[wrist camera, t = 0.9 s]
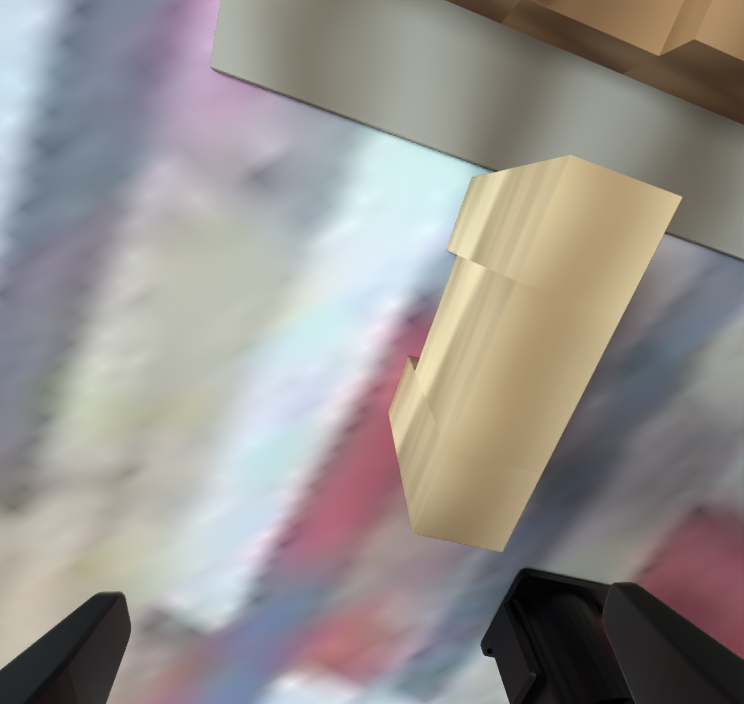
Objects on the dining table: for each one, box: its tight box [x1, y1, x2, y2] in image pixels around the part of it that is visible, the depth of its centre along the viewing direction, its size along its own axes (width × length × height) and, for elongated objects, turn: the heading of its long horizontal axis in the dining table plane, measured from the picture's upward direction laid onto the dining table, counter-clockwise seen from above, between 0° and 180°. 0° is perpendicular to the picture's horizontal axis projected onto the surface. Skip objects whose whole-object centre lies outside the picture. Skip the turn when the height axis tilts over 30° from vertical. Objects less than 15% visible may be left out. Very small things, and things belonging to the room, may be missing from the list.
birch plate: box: [388, 155, 682, 552], centre depth 15 cm, size 3×11×8 cm, turn 163°
